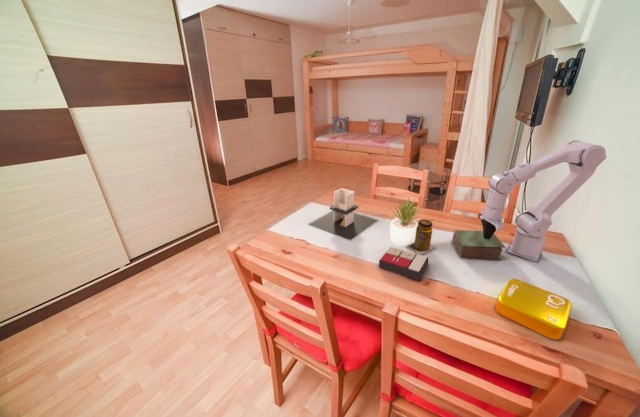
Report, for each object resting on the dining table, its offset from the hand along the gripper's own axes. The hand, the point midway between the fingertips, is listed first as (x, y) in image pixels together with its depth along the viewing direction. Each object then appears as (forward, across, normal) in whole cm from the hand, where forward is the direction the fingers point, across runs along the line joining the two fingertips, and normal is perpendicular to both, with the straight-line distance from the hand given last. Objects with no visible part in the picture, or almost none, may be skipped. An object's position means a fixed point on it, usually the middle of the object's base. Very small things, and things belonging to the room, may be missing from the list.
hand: (486, 237), depth 103 cm
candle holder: (+6, -20, -58) cm, 62 cm away
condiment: (+6, 0, -24) cm, 25 cm away
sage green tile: (+1, 0, -3) cm, 3 cm away
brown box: (+6, 0, -4) cm, 7 cm away
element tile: (+6, +32, +1) cm, 32 cm away
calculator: (+6, +14, -33) cm, 36 cm away
